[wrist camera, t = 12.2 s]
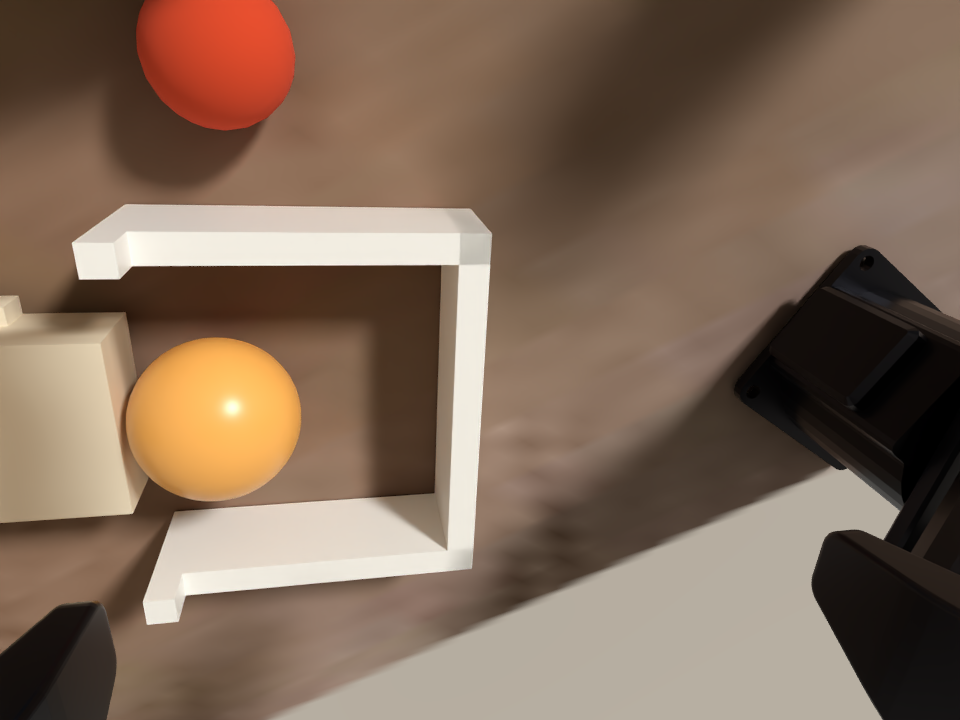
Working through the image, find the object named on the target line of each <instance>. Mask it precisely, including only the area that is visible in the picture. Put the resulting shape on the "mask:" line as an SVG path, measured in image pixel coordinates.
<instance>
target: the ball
mask: <svg viewBox="0 0 960 720" xmlns="http://www.w3.org/2000/svg"><path fill="white" fill-rule="evenodd" d="M300 427H301V406H300V400H299V396H298V393H297V390H296V388H295V385H294V383H293V381H292V379H291V378H290V376H289V375H288V373H287V372H286V370H285V369H284V368H283V367H282V366H281V365H280V363H279V362H277V361H276V360H275V359H274V358H273V357H272V356H271V355H269V354H268V353H267V352H265V351H263V350H262V349H260V348H258V347H256V346H254V345H252V344H249V343H246V342H243V341H240V340H235V339H230V338H218V337H211V338H201V339H197V340H193V341H189V342H185V343H183V344H181V345H178V346H176V347H174V348H172V349H170V350H168V351H167V352H165V353H163V354H162V355H161V356H160V357H158V358H157V359H156V360H155V361H153V362H152V363H151V364H150V365H149V366H148V367H147V369H146V370H145V371H144V372H143V373H142V375H141V376H140V378H139V379H138V381H137V382H136V384H135V386H134V388H133V391H132V393H131V395H130V398H129V402H128V406H127V410H126V433H127V438H128V442H129V446H130V449H131V451H132V454H133V456H134V458H135V459H136V461H137V463H138V464H139V466H140V467H141V468H142V470H143V471H144V472H145V473H146V474H147V475H148V476H149V477H150V478H151V479H152V480H153V481H154V482H155V483H157V484H158V485H160V486H161V487H162V488H164V489H166V490H167V491H169V492H171V493H174V494H176V495H178V496H181V497H184V498H188V499H192V500H198V501H223V500H229V499H234V498H237V497H240V496H244V495H246V494H248V493H250V492H252V491H254V490H256V489H259V488H260V487H261V486H263V485H264V484H266V483H267V482H269V481H270V480H271V479H272V478H273V477H274V476H275V475H277V474H278V473H279V471H280V470H281V469H282V468H283V466H284V465H285V464H286V463H287V461H288V460H289V458H290V456H291V454H292V453H293V451H294V449H295V446H296V443H297V440H298V437H299V433H300Z"/></svg>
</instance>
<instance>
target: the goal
mask: <svg viewBox="0 0 960 720" xmlns="http://www.w3.org/2000/svg"><path fill="white" fill-rule="evenodd" d="M491 242H492V233H491V232H490V231H489V230H488V228H487V227H486V226H485V225H484V224H483V223H482V221H481V220H480V219H479V218H478V217H477V216H476V214H475V213H474V212H473V211H472V210H471V209H456V208H379V207H302V206H225V205H148V204H125V205H124V206H122V207H121V208H119V209H118V210H117V211H115V212H114V213H112V214H111V215H110V216H108V217H107V218H106V219H104V220H103V221H101V222H100V223H99V224H97V225H96V226H94V227H93V228H92V229H90V230H89V231H88V232H86V233H85V234H83V235H82V236H81V237H79V238H78V239H76V240H75V241H74V242H72V245H73V250H74V255H75V261H76V266H77V271H78V276H79V279H120V278H121V277H122V276H123V275H124V274H125V273H126V272H127V271H128V270H129V269H130V268H131V267H132V266H297V265H441V295H440V329H439V363H438V397H437V431H436V465H435V493H432V494H417V495H403V496H389V497H375V498H360V499H346V500H332V501H317V502H303V503H289V504H275V505H260V506H246V507H232V508H217V509H203V510H189V511H175V512H174V515H173V518H172V520H171V523H170V526H169V529H168V532H167V535H166V538H165V540H164V543H163V546H162V549H161V552H160V555H159V557H158V560H157V563H156V566H155V569H154V572H153V575H152V577H151V580H150V583H149V586H148V589H147V592H146V594H145V597H144V600H143V606H144V611H145V616H146V621H147V625H150V624H160V623H170V622H179V618H180V614H181V611H182V607H183V603H184V600H185V596H186V595H196V594H207V593H218V592H229V591H239V590H250V589H261V588H272V587H282V586H293V585H304V584H315V583H325V582H336V581H347V580H358V579H368V578H379V577H390V576H401V575H411V574H422V573H433V572H444V571H454V570H465V569H472V560H473V543H474V527H475V510H476V493H477V476H478V460H479V443H480V426H481V409H482V393H483V376H484V359H485V342H486V325H487V309H488V292H489V275H490V258H491Z"/></svg>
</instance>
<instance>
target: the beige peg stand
mask: <svg viewBox="0 0 960 720" xmlns="http://www.w3.org/2000/svg"><path fill="white" fill-rule="evenodd" d="M136 382H137V375H136V369H135V363H134V358H133V352H132V346H131V340H130V334H129V328H128V322H127V317H126V312H103V313H40V314H23V313H22V308H21V304H20V300H19V296H0V523H8V522H22V521H37V520H51V519H65V518H80V517H94V516H108V515H123V514H133V512H134V510H135V508H136V505H137V503H138V501H139V499H140V496H141V494H142V492H143V490H144V487H145V485H146V483H147V481H148V478H149V476H148V475H147V474H146V473H145V472H144V471H143V470H142V468H141V467H140V466H139V464H138V463H137V461H136V459H135V458H134V456H133V454H132V451H131V449H130V446H129V442H128V438H127V433H126V410H127V406H128V402H129V398H130V395H131V393H132V391H133V388H134V386H135V384H136Z"/></svg>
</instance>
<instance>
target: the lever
mask: <svg viewBox="0 0 960 720" xmlns="http://www.w3.org/2000/svg"><path fill="white" fill-rule="evenodd" d="M136 38H137V53H138V56H139V59H140V62H141V65H142V68H143V71H144V74H145V77H146V79H147V80H148V82H149V83H150V84H151V86H152V87H153V89H154V90H155V92H156V93H157V95H158V96H159V98H160V99H161V100H162V101H163V102H164V103H165V104H166V105H168V106H169V107H170V108H171V109H172V110H173V111H174V112H175V113H177V114H178V115H180V116H181V117H183V118H185V119H187V120H188V121H190V122H192V123H195V124H197V125H200V126H203V127H205V128H211V129H218V130H233V129H240V128H247V127H249V126H251V125H253V124H255V123H257V122H259V121H261V120H263V119H265V118H267V117H268V116H269V115H271V114H272V113H273V111H274V110H275V109H276V108H277V107H278V106H279V105H280V104H281V103H282V102H283V101H284V99H285V97H286V95H287V94H288V92H289V90H290V87H291V84H292V81H293V77H294V67H295V53H294V48H293V43H292V39H291V34H290V30H289V28H288V26H287V25H286V23H285V21H284V19H283V17H282V15H281V13H280V12H279V10H278V8H277V6H276V5H275V4H274V3H273V2H272V1H271V0H145V1H144V3H143V5H142V8H141V10H140V12H139V17H138V22H137V27H136Z"/></svg>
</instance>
